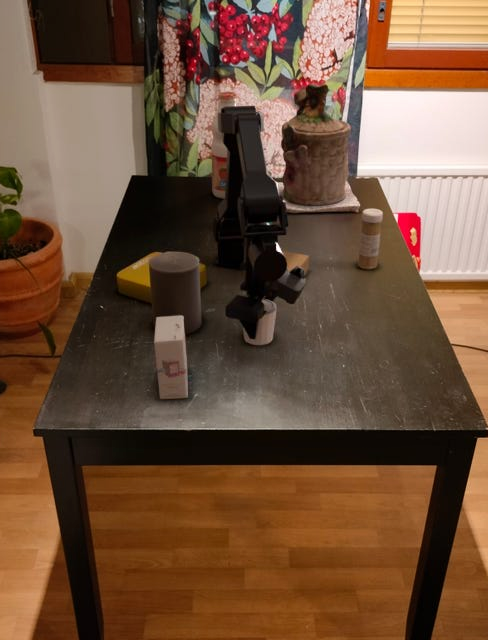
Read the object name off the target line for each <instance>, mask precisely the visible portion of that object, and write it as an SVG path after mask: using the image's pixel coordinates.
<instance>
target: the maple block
mask: <svg viewBox="0 0 488 640" xmlns="http://www.w3.org/2000/svg"><path fill="white" fill-rule="evenodd" d="M282 252H283V254H284V256H285V258H286V261H287V269H288V270H289V272H290V271H291V270H292V269H293V268H295V267H296V266H299V267H301V268H303V269H304V277H305V276H306V275H307V273H308V272H309V258H310V257H309V256H310V255H308V254H303V253H302V254H301V253H296V252H290V251H284V250H282Z"/></svg>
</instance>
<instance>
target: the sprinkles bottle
mask: <svg viewBox="0 0 488 640" xmlns="http://www.w3.org/2000/svg"><path fill="white" fill-rule="evenodd" d="M361 213H362V214H361V231H360V239H359V240H360V241H359V249H358V262H357V265H358V267H359V268H361V269H363V270H373V269H374V270H375V268H377V266H378V255H379V251H380V250H379V249H380V241H381V228H382V222H383V217H384V213H383V211H382V210H380V209H378V208H365V209H363V210H362V212H361Z"/></svg>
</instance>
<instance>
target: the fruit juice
mask: <svg viewBox="0 0 488 640" xmlns="http://www.w3.org/2000/svg"><path fill="white" fill-rule="evenodd" d="M237 94H238V93H236V92H234V91H221V92H219V93H218V101H219V105H218V108H217V111H216V114H215V116H214V118H213V120H212V122H211V128H210V129H211V133H212V140H211V147H210V148H211V150H210V152H211V153H210V154H211V190H212V195H213V196H215V197H216V198H219V199H223V200H224V199H225V188H226V167H227V148H226V146H225V145H224V144H223V140H222V135H221V132H219V130H218V113H221V109H222V108H224V107H225V106H237V98H238V95H237Z"/></svg>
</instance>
